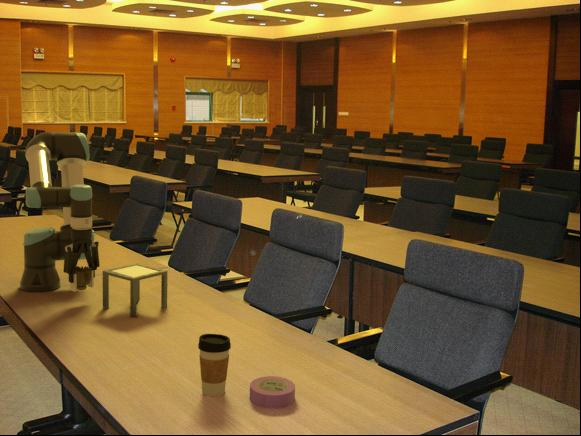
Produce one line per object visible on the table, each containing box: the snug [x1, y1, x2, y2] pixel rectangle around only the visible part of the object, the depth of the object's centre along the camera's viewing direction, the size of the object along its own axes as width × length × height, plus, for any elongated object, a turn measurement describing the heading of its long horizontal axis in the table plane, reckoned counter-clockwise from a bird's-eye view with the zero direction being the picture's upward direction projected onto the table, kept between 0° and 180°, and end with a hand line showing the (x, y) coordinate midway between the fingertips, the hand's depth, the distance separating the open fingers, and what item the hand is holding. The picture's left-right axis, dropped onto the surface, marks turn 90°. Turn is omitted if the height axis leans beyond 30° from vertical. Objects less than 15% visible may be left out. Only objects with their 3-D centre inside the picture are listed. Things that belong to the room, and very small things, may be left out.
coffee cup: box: [197, 333, 232, 398], centre depth 177 cm, size 8×8×15 cm
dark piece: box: [74, 265, 92, 291], centre depth 249 cm, size 8×7×8 cm
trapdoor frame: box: [102, 263, 168, 319], centre depth 246 cm, size 16×16×14 cm
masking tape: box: [249, 375, 296, 409], centre depth 175 cm, size 12×12×4 cm
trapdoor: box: [111, 265, 158, 277], centre depth 245 cm, size 12×12×1 cm
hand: (82, 288), depth 250 cm, fingers closed on dark piece, 7 cm apart
